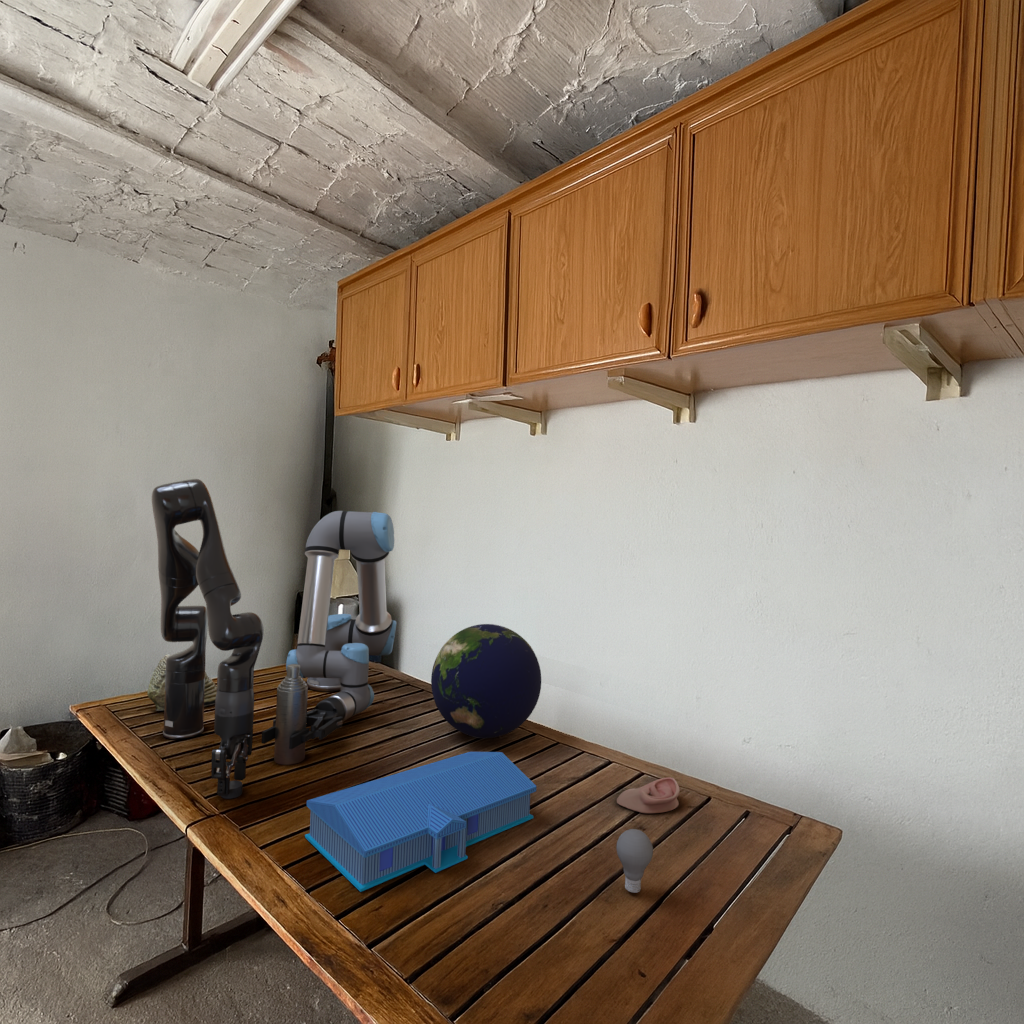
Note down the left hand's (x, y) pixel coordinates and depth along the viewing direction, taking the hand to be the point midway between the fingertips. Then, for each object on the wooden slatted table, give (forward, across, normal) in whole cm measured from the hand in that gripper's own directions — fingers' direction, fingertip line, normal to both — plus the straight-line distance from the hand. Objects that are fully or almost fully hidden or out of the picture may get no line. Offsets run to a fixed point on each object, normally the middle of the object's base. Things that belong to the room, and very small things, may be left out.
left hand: (231, 787), depth 133 cm
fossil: (+2, +51, +38) cm, 64 cm away
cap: (0, 0, 0) cm, 0 cm away
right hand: (-5, +14, -4) cm, 15 cm away
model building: (+2, -10, -43) cm, 44 cm away
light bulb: (+2, -26, -80) cm, 84 cm away
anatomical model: (+2, +6, -89) cm, 89 cm away
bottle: (+1, +19, -5) cm, 20 cm away
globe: (+2, +41, -51) cm, 65 cm away
